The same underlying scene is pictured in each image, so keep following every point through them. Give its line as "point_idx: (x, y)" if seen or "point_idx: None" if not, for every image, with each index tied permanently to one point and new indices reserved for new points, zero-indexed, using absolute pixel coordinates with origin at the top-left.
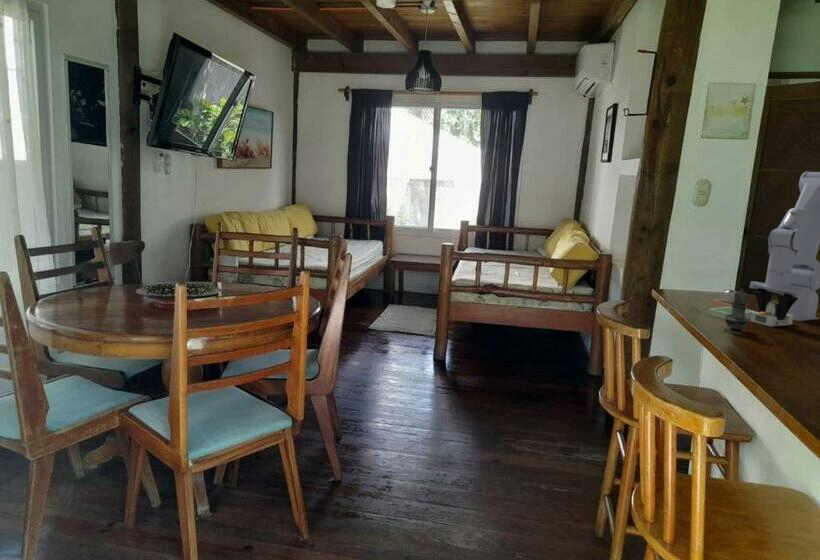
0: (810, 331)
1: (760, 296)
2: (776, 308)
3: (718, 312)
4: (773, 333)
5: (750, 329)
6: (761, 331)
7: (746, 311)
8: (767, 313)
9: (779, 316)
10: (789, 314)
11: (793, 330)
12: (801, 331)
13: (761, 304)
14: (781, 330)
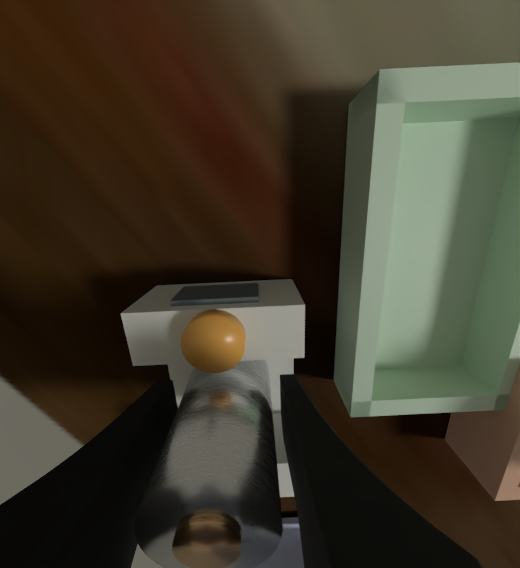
0: (78, 429)
1: (335, 531)
2: (162, 451)
3: (484, 68)
4: (19, 163)
5: (126, 77)
6: (69, 118)
7: (409, 389)
8: (182, 344)
9: (143, 395)
10: (288, 550)
11: (97, 366)
12: (77, 388)
13: (299, 436)
14: (97, 297)
